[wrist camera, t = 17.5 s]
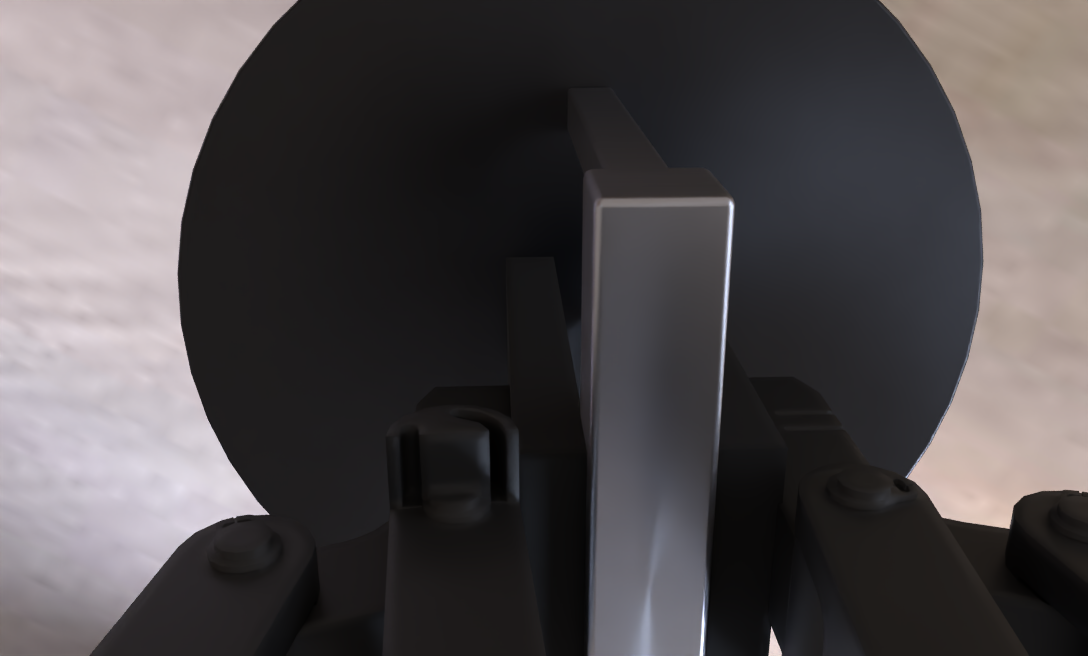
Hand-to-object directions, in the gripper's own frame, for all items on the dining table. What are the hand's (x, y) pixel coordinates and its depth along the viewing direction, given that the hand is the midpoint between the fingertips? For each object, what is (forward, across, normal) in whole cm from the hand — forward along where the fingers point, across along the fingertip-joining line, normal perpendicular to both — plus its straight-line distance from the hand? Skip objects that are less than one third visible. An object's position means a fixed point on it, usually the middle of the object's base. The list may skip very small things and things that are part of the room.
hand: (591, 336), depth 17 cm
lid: (+1, 0, 0) cm, 1 cm away
